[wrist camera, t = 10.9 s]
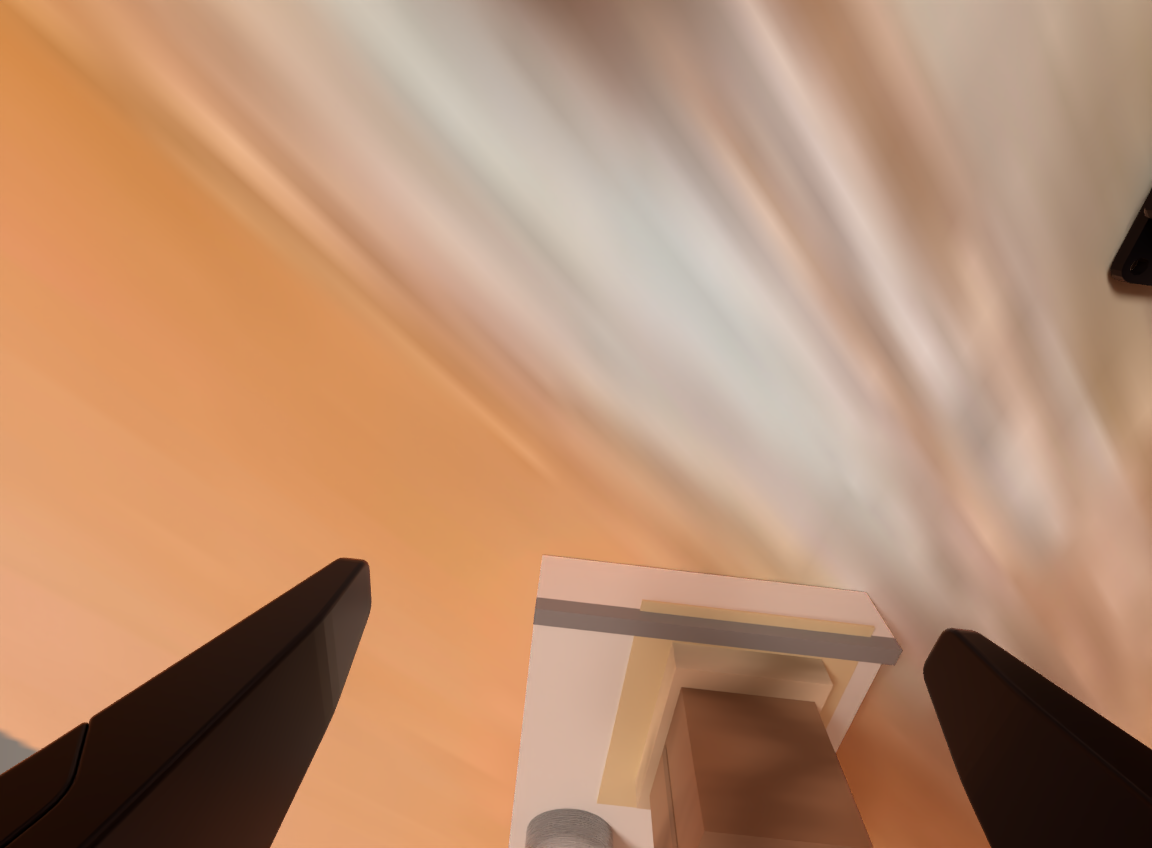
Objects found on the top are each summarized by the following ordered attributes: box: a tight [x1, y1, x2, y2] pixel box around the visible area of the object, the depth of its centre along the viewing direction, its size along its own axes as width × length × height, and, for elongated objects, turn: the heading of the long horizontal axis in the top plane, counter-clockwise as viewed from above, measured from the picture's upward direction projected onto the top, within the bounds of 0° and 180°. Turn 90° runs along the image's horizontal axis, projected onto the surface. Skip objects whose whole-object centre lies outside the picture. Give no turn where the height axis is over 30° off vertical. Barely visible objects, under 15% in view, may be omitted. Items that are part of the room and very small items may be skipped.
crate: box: [635, 642, 873, 848], centre depth 21 cm, size 6×9×6 cm, turn 173°
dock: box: [509, 555, 902, 848], centre depth 26 cm, size 14×18×3 cm
